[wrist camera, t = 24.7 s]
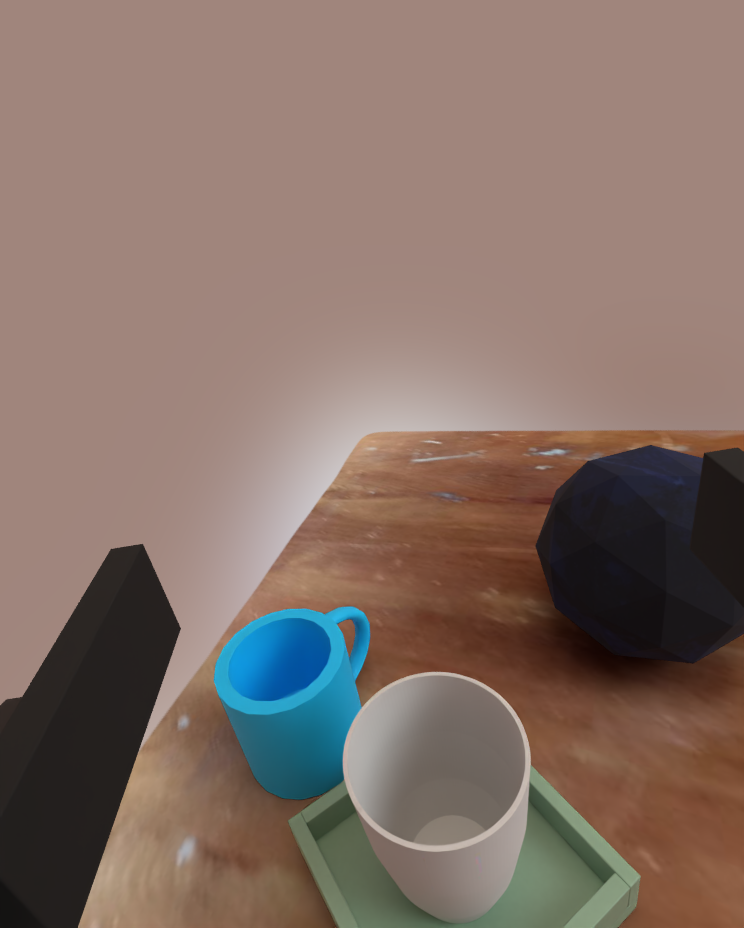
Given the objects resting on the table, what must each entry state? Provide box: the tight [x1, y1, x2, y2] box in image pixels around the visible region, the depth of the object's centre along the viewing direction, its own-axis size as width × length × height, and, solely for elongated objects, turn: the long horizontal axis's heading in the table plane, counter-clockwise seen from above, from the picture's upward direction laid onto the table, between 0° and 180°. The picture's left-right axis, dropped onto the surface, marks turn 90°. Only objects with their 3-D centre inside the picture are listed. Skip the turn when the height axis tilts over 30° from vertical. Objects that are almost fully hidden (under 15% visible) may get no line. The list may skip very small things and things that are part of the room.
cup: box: [343, 672, 531, 924], centre depth 26 cm, size 8×8×10 cm
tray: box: [288, 765, 640, 928], centre depth 28 cm, size 13×13×3 cm
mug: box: [214, 606, 370, 800], centre depth 37 cm, size 12×8×8 cm
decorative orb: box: [536, 445, 744, 663], centre depth 38 cm, size 14×15×15 cm
